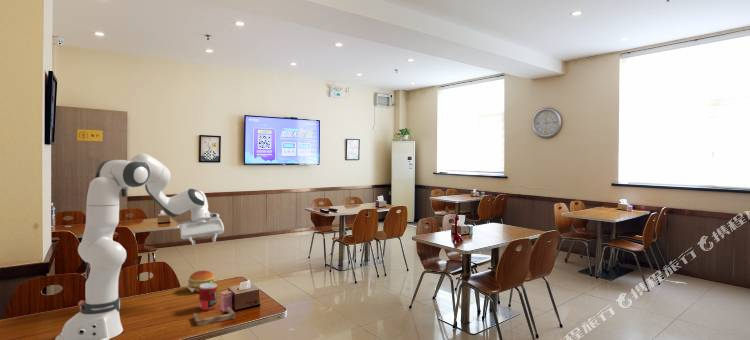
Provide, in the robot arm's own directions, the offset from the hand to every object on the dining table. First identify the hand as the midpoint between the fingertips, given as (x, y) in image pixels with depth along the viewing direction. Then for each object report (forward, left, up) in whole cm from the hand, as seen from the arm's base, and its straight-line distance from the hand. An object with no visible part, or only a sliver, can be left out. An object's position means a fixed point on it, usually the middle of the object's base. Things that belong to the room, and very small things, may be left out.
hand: (204, 243), depth 203 cm
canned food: (0, -10, -30) cm, 31 cm away
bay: (0, -23, -29) cm, 37 cm away
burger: (+2, +18, -30) cm, 35 cm away
